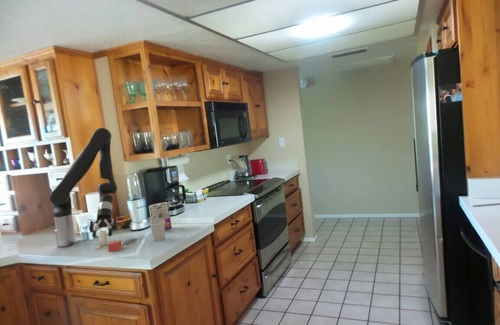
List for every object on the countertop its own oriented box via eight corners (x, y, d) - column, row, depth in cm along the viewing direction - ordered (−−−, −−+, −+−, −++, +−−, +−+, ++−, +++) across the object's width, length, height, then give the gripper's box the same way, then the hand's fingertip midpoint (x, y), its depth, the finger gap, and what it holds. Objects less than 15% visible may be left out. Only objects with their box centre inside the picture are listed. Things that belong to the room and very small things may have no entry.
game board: (93, 252, 176) (93, 250, 176) (100, 245, 188) (100, 243, 188) (135, 246, 179) (135, 244, 179) (139, 239, 191) (138, 237, 191)
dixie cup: (148, 242, 185) (146, 224, 184) (157, 237, 192) (155, 220, 192) (161, 242, 182) (159, 224, 181) (170, 237, 190) (168, 219, 189)
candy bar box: (169, 227, 212) (166, 201, 211) (171, 228, 208) (168, 202, 207) (151, 231, 207) (148, 205, 206) (153, 233, 203) (149, 206, 202)
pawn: (98, 247, 181) (96, 233, 180) (100, 245, 184) (98, 231, 184) (106, 246, 181) (104, 232, 181) (108, 243, 185) (106, 230, 184)
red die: (109, 254, 171) (107, 244, 171) (111, 250, 176) (110, 241, 175) (119, 252, 172) (118, 242, 171) (121, 249, 177) (120, 239, 176)
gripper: (89, 209, 188) (85, 235, 178) (116, 205, 190) (114, 231, 180) (93, 216, 194) (90, 242, 183) (119, 213, 196) (117, 238, 186)
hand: (102, 236), depth 182 cm, fingers open, 7 cm apart
